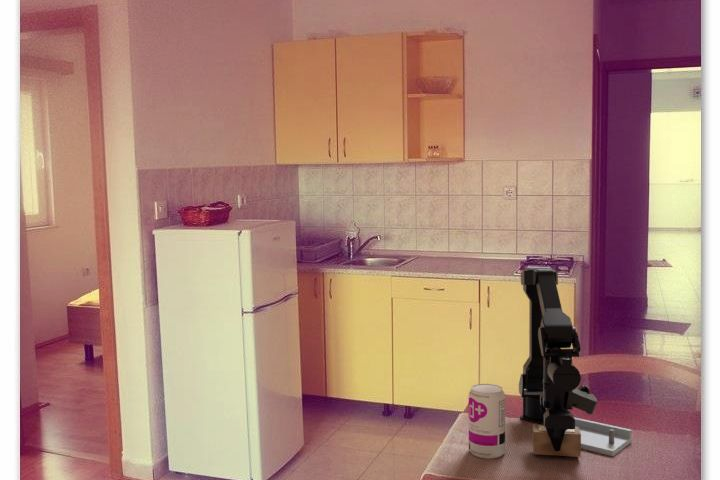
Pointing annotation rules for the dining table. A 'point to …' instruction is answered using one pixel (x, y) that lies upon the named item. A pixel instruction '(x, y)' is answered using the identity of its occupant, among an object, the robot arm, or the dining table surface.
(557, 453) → the brown wooden block
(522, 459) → the dining table surface
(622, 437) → the ledge
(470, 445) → the supplement can
